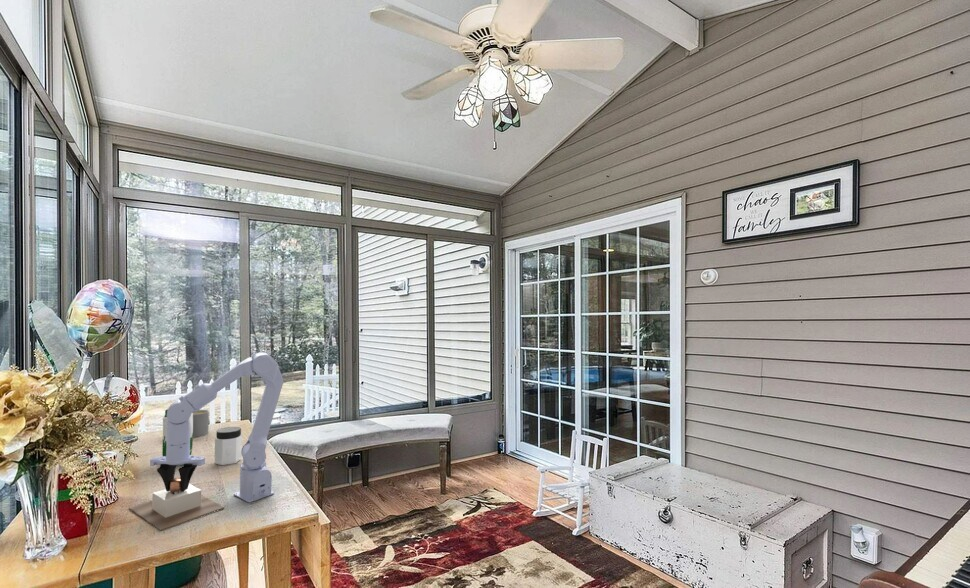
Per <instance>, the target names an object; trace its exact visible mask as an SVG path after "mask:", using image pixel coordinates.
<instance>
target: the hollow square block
mask: <svg viewBox="0 0 970 588" xmlns="http://www.w3.org/2000/svg"><path fill="white" fill-rule="evenodd" d="M201 495H202V489H201V488H199V487H197V486H194V485H192V484H190V483H189V485H188V489H186V490H185V491H181V490H180V493H177V494H174V491H166V488H164V489H161V490H158V491H155V492H152V499H151V501H152V509H153V510H155V511H156V512H158V513H159V514H161V515H162V516H164V517H165V518H166V517H169V516H172V515H175V514H178V513H181V512H184V511H187V510H190V509H193V508H196V507H199V506H201Z"/></svg>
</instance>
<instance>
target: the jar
mask: <svg viewBox="0 0 970 588" xmlns="http://www.w3.org/2000/svg"><path fill="white" fill-rule="evenodd" d="M242 448H243V434H242V427H240V426H226V427H222V428H219V429H217V430H216V437H215V438H214V461H213V462H214V464H216V465H220V466H226V465H227V464H228V465H233V464H236V463H238V462H239V461H241V460H243V457H242V454H241V450H242Z"/></svg>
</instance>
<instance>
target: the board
mask: <svg viewBox="0 0 970 588" xmlns="http://www.w3.org/2000/svg"><path fill="white" fill-rule="evenodd" d="M128 509H129V510H130V511H131V512H132V513H134V514H135V515H137V516H138V517H140V518H141V519H143V520H144V521H146V523H148V524H149V525H151V526H152V527H154V528H155V529H156V530H158V531H159V532H163V531H165V530H168V529H171V528H174V527H177V526H179V525H182V524H185V523H189V522H190V520H191V521H193V519H194V520H196V519H199V518H201V516H202V517H204V515H205V516H207V514H208V515H210V514H213V513H215V512H214V511H216V512H218V511H217V510H219V511H221V509H222V510H224V509H225V507H224V506H223V505H222V504H219V503H217V502H216V501H213V500H212V499H209V497H206V496H204V495H202V494H201V506H199V507H196V508H193V509H190V510H187V511H184V512H181V513H178V514H175V515H172V516H169V517H166V518H165V517H164V516H162V515H161V514H159V513H158V512H156V511H155V510H153V509H152V500H149V501H145V502H142V503H139V504H135V505H133V506H129V507H128ZM212 512H213V513H212ZM209 513H210V514H209Z"/></svg>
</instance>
